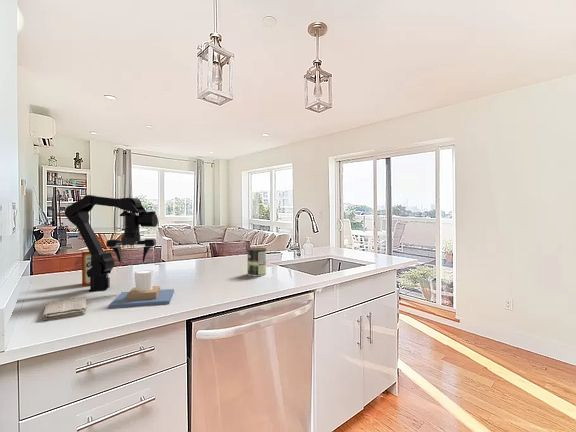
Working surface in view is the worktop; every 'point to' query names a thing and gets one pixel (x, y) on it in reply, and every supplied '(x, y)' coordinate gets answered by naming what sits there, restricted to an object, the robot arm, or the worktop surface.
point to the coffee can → (256, 261)
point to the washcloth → (65, 309)
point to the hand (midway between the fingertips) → (132, 262)
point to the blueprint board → (147, 302)
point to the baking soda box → (86, 267)
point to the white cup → (144, 280)
